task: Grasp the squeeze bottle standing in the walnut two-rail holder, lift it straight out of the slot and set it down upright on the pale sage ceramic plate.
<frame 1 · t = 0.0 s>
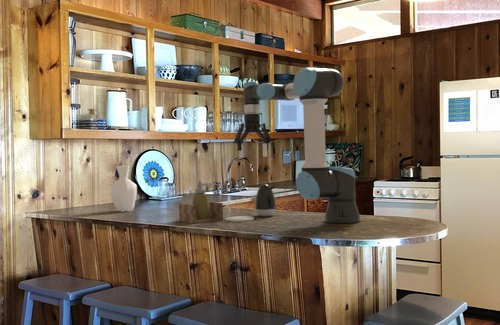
hand: (253, 157, 272), 28 cm above the countertop, fingers open, 13 cm apart
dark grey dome: (266, 216, 265), on the countertop
holder: (201, 220, 255), on the countertop
vase: (124, 211, 306), on the countertop
squeeze bottle: (201, 220, 255), resting in holder
plate: (239, 219, 253), on the countertop
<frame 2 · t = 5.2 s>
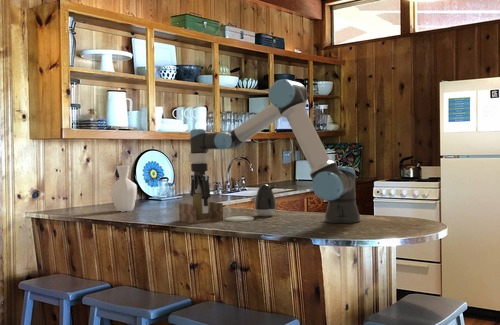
hand: (200, 212, 255), 4 cm above the countertop, fingers closed on squeeze bottle, 8 cm apart
squeeze bottle: (201, 220, 255), resting in holder, touching gripper
everything else where it was.
when the fingers open (6 cm above the countertop, at t = 11.2 s): squeeze bottle drops 2 cm, resting on plate.
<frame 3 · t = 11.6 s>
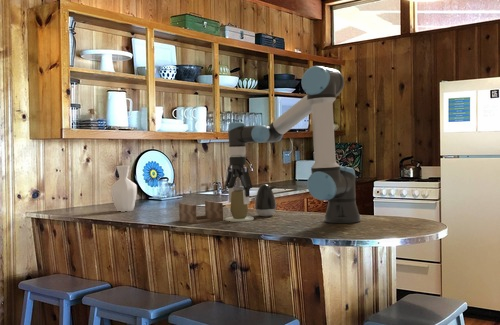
hand: (239, 203, 253), 8 cm above the countertop, fingers open, 13 cm apart
squeeze bottle: (239, 218, 253), point 1 cm above the countertop, touching plate
everything else where it was.
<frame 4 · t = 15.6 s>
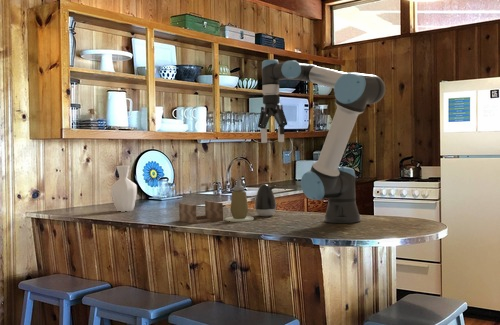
hand: (272, 142, 249), 35 cm above the countertop, fingers open, 13 cm apart
nothing on the countertop moved.
at the end: squeeze bottle 0.1 cm from the plate (horizontally); squeeze bottle tilted 0°; squeeze bottle point 0.6 cm above the countertop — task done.
